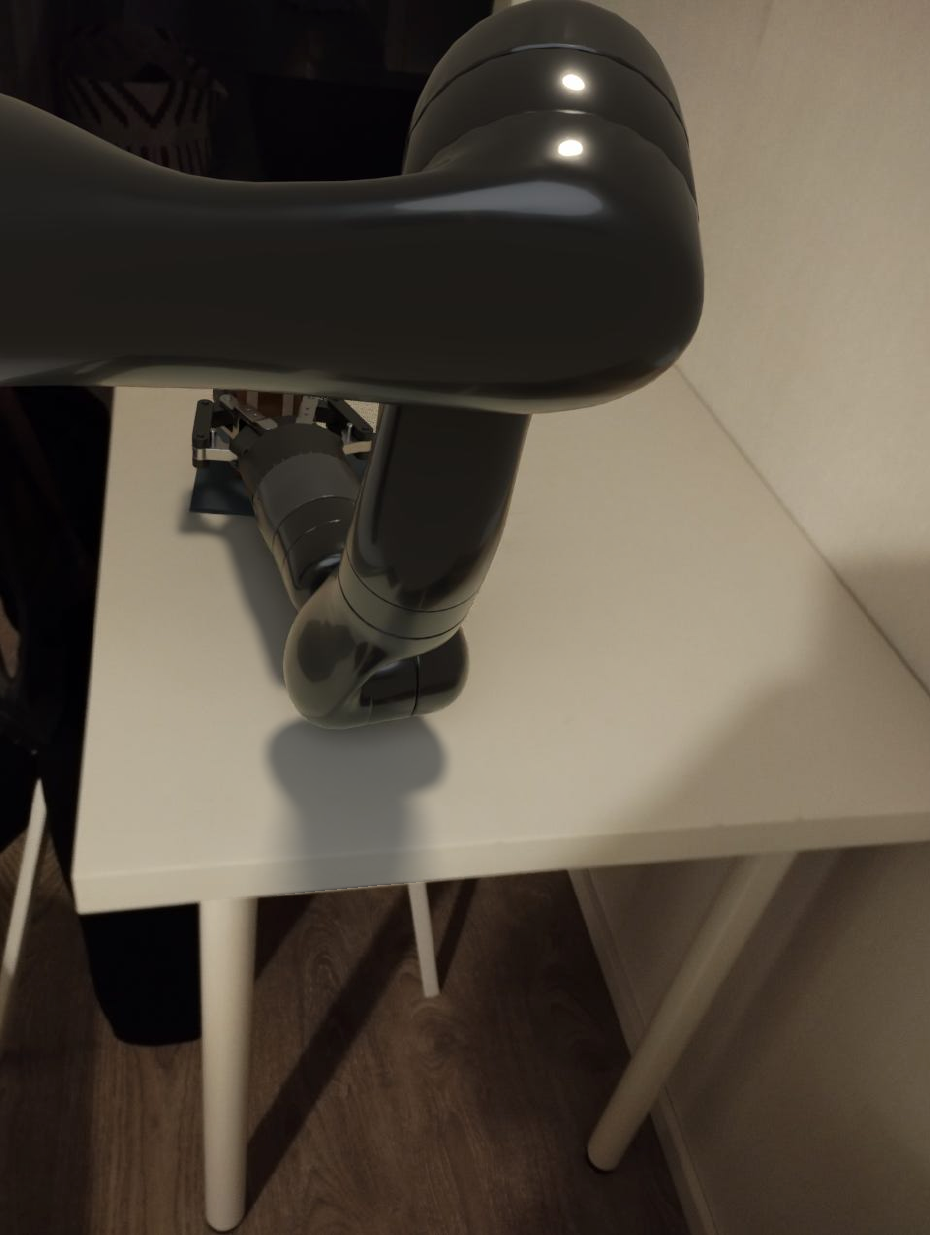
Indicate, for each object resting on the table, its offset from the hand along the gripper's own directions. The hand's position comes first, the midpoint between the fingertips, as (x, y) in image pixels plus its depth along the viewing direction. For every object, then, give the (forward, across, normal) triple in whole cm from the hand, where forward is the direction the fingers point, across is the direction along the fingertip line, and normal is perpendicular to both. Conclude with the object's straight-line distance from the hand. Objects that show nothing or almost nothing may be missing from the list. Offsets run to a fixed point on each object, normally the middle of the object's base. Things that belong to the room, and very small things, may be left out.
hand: (258, 384), depth 80 cm
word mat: (-4, -5, +6) cm, 9 cm away
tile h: (-3, 0, +6) cm, 7 cm away
